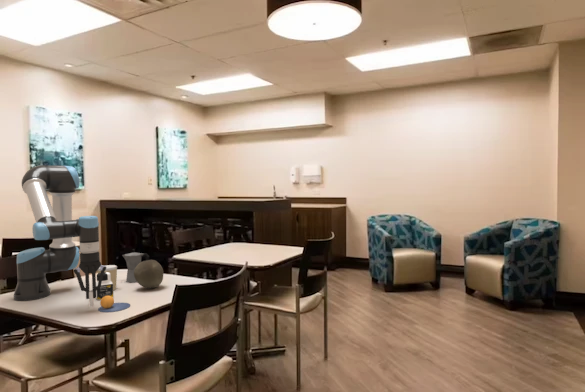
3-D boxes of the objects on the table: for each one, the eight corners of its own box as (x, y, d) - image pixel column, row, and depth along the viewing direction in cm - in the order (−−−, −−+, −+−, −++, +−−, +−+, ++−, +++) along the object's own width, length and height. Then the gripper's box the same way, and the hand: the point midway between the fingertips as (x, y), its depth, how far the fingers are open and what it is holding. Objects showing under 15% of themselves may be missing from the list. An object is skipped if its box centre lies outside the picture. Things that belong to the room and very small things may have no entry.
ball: (110, 293, 173) (116, 304, 173) (110, 292, 178) (116, 303, 178) (97, 300, 170) (104, 311, 171) (97, 299, 175) (103, 310, 176)
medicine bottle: (97, 300, 187) (96, 275, 186) (95, 296, 193) (94, 272, 193) (113, 297, 191) (112, 273, 190) (111, 294, 197) (110, 270, 196)
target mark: (97, 313, 167) (97, 313, 167) (99, 305, 179) (99, 304, 179) (130, 309, 172) (130, 309, 172) (130, 301, 184) (130, 301, 184)
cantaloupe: (149, 284, 216) (149, 256, 215) (169, 286, 210) (168, 258, 209) (128, 290, 203) (128, 261, 203) (149, 293, 197) (148, 263, 196)
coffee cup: (121, 287, 210) (120, 264, 210) (111, 292, 201) (110, 268, 201) (104, 287, 211) (103, 264, 211) (94, 292, 202) (93, 268, 201)
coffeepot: (119, 283, 220) (118, 250, 219) (126, 279, 229) (125, 248, 229) (146, 282, 219) (145, 250, 219) (153, 278, 229) (152, 247, 228)
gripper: (71, 254, 165) (73, 310, 166) (105, 251, 170) (107, 306, 171) (73, 251, 172) (75, 305, 173) (106, 249, 177) (108, 301, 178)
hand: (91, 305), depth 172 cm, fingers closed
